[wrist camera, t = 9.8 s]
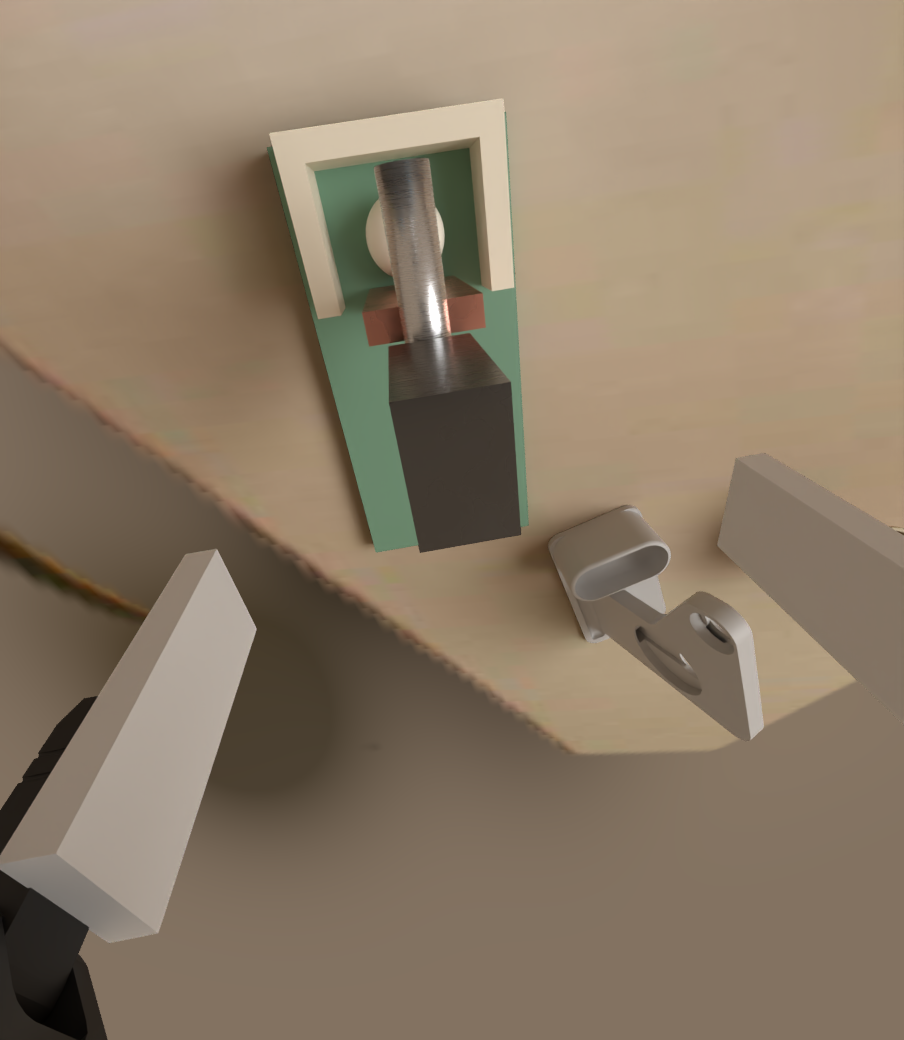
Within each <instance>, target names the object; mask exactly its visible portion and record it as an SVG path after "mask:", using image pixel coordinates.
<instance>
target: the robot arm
mask: <svg viewBox="0 0 904 1040" xmlns="http://www.w3.org/2000/svg"><path fill="white" fill-rule="evenodd" d="M717 546H718V547H719V548H720V549H721V550H722V551H723V552H724V553H725V554H726V555H727V556H728V557H729V558H730V559H731V560H732V561H733V562H734V563H735V564H737V565H738V566H739V567H740V568H741V569H742V570H743V571H744V572H745V573H746V574H747V575H748V576H749V577H750V578H751V579H752V580H753V581H754V582H755V583H756V584H757V585H758V586H759V587H760V588H761V589H763V590H764V591H765V592H766V593H767V594H768V595H769V596H770V597H771V598H772V599H773V600H774V601H775V602H776V603H777V604H778V605H779V606H780V607H781V608H782V609H783V610H784V611H785V612H786V613H787V614H788V615H790V616H791V617H792V618H793V619H794V620H795V621H796V622H797V623H798V624H799V625H800V626H801V627H802V628H803V629H804V630H805V631H806V632H807V633H808V634H809V635H810V636H811V637H812V638H813V639H814V640H816V641H817V642H818V643H819V644H820V645H821V646H822V647H823V648H824V649H825V650H826V651H827V652H828V653H829V654H830V655H831V656H832V657H833V658H834V659H835V660H836V661H837V662H838V663H839V664H840V665H841V666H843V667H844V668H845V669H846V670H847V671H848V672H849V673H850V674H851V675H852V676H853V677H854V678H855V679H856V680H857V681H858V682H859V683H860V684H861V685H863V687H864V688H866V690H867V691H869V692H870V693H871V694H872V695H873V696H874V697H875V698H876V699H877V700H878V701H879V702H880V703H881V704H882V705H883V706H884V707H885V708H886V709H887V710H888V711H889V712H890V713H892V715H893V716H895V717H896V718H897V719H898V720H899V721H900V722H901V723H902V724H903V725H904V535H902V534H901V533H899V532H897V531H895V530H894V529H892V528H890V527H889V526H887V525H885V524H884V523H882V522H880V521H879V520H877V519H875V518H874V517H872V516H870V515H869V514H867V513H865V512H864V511H862V510H860V509H859V508H857V507H855V506H853V505H852V504H850V503H848V502H847V501H845V500H843V499H842V498H840V497H838V496H837V495H835V494H833V493H832V492H830V491H828V490H827V489H825V488H823V487H822V486H820V485H818V484H816V483H815V482H813V481H811V480H810V479H808V478H806V477H805V476H803V475H801V474H800V473H798V472H796V471H795V470H793V469H791V468H790V467H788V466H786V465H785V464H783V463H781V462H780V461H778V460H776V459H774V458H773V457H771V456H769V455H768V454H766V453H762V454H756V455H750V456H745V457H739V458H736V460H735V465H734V469H733V474H732V479H731V483H730V488H729V493H728V497H727V502H726V507H725V511H724V516H723V521H722V525H721V530H720V535H719V539H718V544H717ZM255 632H256V627H255V625H254V623H253V620H252V618H251V616H250V615H249V613H248V611H247V608H246V606H245V604H244V602H243V601H242V598H241V597H240V594H239V593H238V591H237V588H236V586H235V584H234V582H233V580H232V578H231V576H230V574H229V572H228V570H227V568H226V566H225V564H224V562H223V560H222V558H221V556H220V554H219V552H218V550H217V549H213V550H208V551H202V552H196V553H190V554H185V556H184V557H183V559H182V561H181V562H180V564H179V566H178V567H177V569H176V570H175V572H174V574H173V575H172V577H171V579H170V580H169V582H168V584H167V585H166V587H165V588H164V590H163V592H162V593H161V595H160V597H159V598H158V600H157V601H156V603H155V605H154V606H153V608H152V609H151V611H150V613H149V614H148V616H147V618H146V619H145V621H144V622H143V624H142V626H141V627H140V629H139V631H138V632H137V634H136V636H135V637H134V639H133V640H132V642H131V644H130V645H129V647H128V648H127V650H126V652H125V653H124V655H123V657H122V658H121V660H120V661H119V663H118V665H117V666H116V668H115V670H114V671H113V673H112V675H111V676H110V678H109V679H108V681H107V683H106V684H105V686H104V687H103V689H102V691H101V692H100V694H99V696H95V697H90V698H84V699H83V700H82V701H81V702H80V703H79V704H78V705H77V706H76V707H75V708H74V709H73V710H72V711H71V712H70V713H69V714H68V715H66V717H64V718H63V719H62V720H61V721H60V722H59V723H58V724H57V725H56V727H55V729H54V730H53V732H52V733H51V735H50V736H49V738H48V739H47V741H46V742H45V744H44V745H43V747H42V748H41V750H40V751H39V753H38V754H39V757H38V758H36V759H34V760H33V762H32V763H31V765H30V766H29V768H28V769H27V771H26V772H25V774H24V775H23V781H22V783H18V784H17V786H16V787H15V789H14V790H13V792H12V794H11V795H10V796H9V798H8V800H7V801H6V802H5V804H4V805H3V807H2V809H1V810H0V1040H107V1036H106V1033H105V1029H104V1025H103V1022H102V1018H101V1014H100V1011H99V1007H98V1003H97V1000H96V996H95V992H94V989H93V985H92V981H91V978H90V975H89V970H88V967H87V965H86V963H85V962H84V960H83V959H82V958H81V956H80V955H78V953H79V951H80V948H81V946H82V944H83V941H84V939H85V937H86V934H87V932H88V930H90V931H92V932H93V933H95V934H96V935H98V936H99V937H101V938H102V939H104V940H105V941H107V942H108V943H112V942H117V941H122V940H127V939H132V938H137V937H142V936H147V935H152V934H157V933H158V932H159V929H160V926H161V923H162V920H163V917H164V914H165V910H166V907H167V904H168V901H169V898H170V895H171V892H172V889H173V886H174V883H175V880H176V876H177V873H178V870H179V867H180V864H181V861H182V858H183V855H184V852H185V849H186V846H187V842H188V839H189V836H190V833H191V830H192V827H193V824H194V821H195V818H196V815H197V812H198V808H199V805H200V802H201V799H202V796H203V793H204V790H205V787H206V783H207V780H208V778H209V775H210V771H211V768H212V765H213V762H214V759H215V756H216V753H217V750H218V747H219V744H220V741H221V737H222V734H223V731H224V728H225V725H226V722H227V719H228V716H229V712H230V709H231V707H232V703H233V700H234V697H235V694H236V691H237V688H238V685H239V682H240V679H241V676H242V673H243V670H244V666H245V663H246V660H247V657H248V654H249V651H250V648H251V645H252V642H253V638H254V635H255Z"/></svg>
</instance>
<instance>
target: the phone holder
mask: <svg viewBox="0 0 904 1040" xmlns="http://www.w3.org/2000/svg"><path fill="white" fill-rule="evenodd" d="M548 549H549V552H550V554H551V557H552V559H553V562H554V564H555V566H556V569H557V571H558V574H559V576H560V579H561V581H562V583H563V586H564V588H565V591H566V593H567V596H568V598H569V600H570V603H571V605H572V608H573V610H574V613H575V615H576V618H577V620H578V622H579V625H580V627H581V630H582V632H583V635H584V637H585V639H586V640H587V641H588V642H590V643H598V642H601V641H603V640H606V639H608V638H612V639H613V640H614V641H615V642H617V643H618V644H619V645H620V646H622V647H623V648H624V649H625V650H627V651H628V652H629V653H631V654H632V655H633V656H634V657H636V658H637V659H638V660H639V661H641V662H642V663H643V664H644V665H646V666H647V667H648V668H650V669H651V670H652V671H653V672H655V673H656V674H657V675H658V676H660V677H661V678H662V679H663V680H665V681H666V682H667V683H669V684H670V685H671V686H672V687H674V688H675V689H676V690H677V691H679V692H680V693H681V694H682V695H684V696H685V697H686V698H687V699H689V700H690V701H691V702H693V703H694V704H695V705H696V706H698V707H699V708H700V709H701V710H703V711H704V712H705V713H706V714H708V715H709V716H710V717H712V718H713V719H714V720H715V721H717V722H718V723H719V724H720V725H722V726H723V727H724V728H725V729H727V730H728V731H729V732H731V733H732V734H733V735H735V736H736V737H738V738H740V739H742V740H744V741H750V740H751V739H752V738H753V737H754V736H755V735H756V734H757V733H759V732H760V731H761V730H762V729H763V727H764V724H763V715H762V707H761V698H760V690H759V681H758V673H757V665H756V657H755V649H754V642H753V634H752V631H751V629H750V627H749V625H748V624H747V622H746V621H745V619H744V618H743V617H742V616H741V615H740V614H739V613H738V612H737V611H736V610H735V609H734V608H732V607H731V606H730V605H728V604H727V603H725V602H723V601H722V600H720V599H718V598H716V597H714V596H712V595H711V594H708V593H706V592H696V593H695V594H694V595H692V596H691V597H690V598H688V599H687V600H686V601H684V602H683V603H681V604H680V605H679V606H677V607H676V608H675V609H673V610H672V611H670V612H669V613H668V614H664V613H665V610H666V607H665V603H664V599H663V595H662V591H661V588H660V584H659V580H658V576H657V575H659V574H660V573H661V572H662V571H663V570H664V569H665V568H666V567H667V565H668V564H669V561H670V558H671V552H670V549H669V547H668V546H667V545H666V543H665V542H664V541H663V540H662V539H661V538H660V537H659V536H658V535H657V533H656V532H655V531H654V530H653V529H652V528H651V527H650V526H649V525H648V523H647V522H646V521H645V520H644V519H643V517H642V514H641V512H640V511H639V510H638V509H637V508H636V507H635V506H633V505H625V506H622V507H620V508H617V509H615V510H613V511H610V512H608V513H606V514H603V515H601V516H599V517H596V518H594V519H592V520H589V521H587V522H585V523H582V524H580V525H578V526H575V527H573V528H571V529H568V530H566V531H564V532H561V533H559V534H557V535H555V536H553V537H552V538H551V539H550V541H549V543H548ZM717 624H718V625H719V626H720V627H721V628H722V629H721V628H720V627H719V626H718V625H717ZM683 657H684V658H685V659H686V661H687V662H688V663H689V664H688V663H687V662H686V661H685V659H684V658H683Z"/></svg>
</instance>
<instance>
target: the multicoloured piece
mask: <svg viewBox="0 0 904 1040" xmlns="http://www.w3.org/2000/svg"><path fill="white" fill-rule="evenodd" d="M374 173H375V179H376V184H377V190H378V195H379V201H380V207H381V212H382V218H383V224H384V229H385V235H386V240H387V246H388V252H389V257H390V263H391V269H392V274H393V280H394V285H391V286H385V287H378V288H372V289H370V290H369V293H368V296H367V299H366V302H365V305H364V308H363V311H362V316H363V320H364V325H365V330H366V334H367V339H368V343H369V347H370V346H376V345H382V344H388V343H395V342H401V341H404V342H405V344H398V345H392V346H388V369H389V406H390V411H391V416H392V421H393V426H394V430H395V435H396V440H397V445H398V450H399V454H400V459H401V464H402V469H403V474H404V478H405V483H406V488H407V493H408V498H409V502H410V507H411V512H412V517H413V522H414V526H415V531H416V536H417V541H418V546H419V550H420V553H421V552H427V551H433V550H438V549H444V548H450V547H455V546H461V545H467V544H472V543H478V542H483V541H489V540H495V539H500V538H506V537H512V536H517V535H521V525H520V510H519V495H518V480H517V465H516V450H515V434H514V419H513V404H512V389H511V381H510V380H509V379H508V378H507V377H506V375H505V374H504V373H503V372H502V371H501V369H500V368H499V367H498V366H497V365H496V363H495V362H494V361H493V360H492V359H491V357H490V356H489V355H488V354H487V353H486V352H485V350H484V349H483V348H482V347H481V346H480V344H479V343H478V342H477V341H476V340H475V338H474V337H473V336H472V335H471V334H470V333H466V334H460V335H453V336H451V333H456V332H462V331H468V330H474V329H480V328H486V324H485V313H484V301H483V293H482V292H480V291H478V290H477V289H475V288H473V287H472V286H470V285H469V284H467V283H465V282H464V281H462V280H460V279H459V278H457V277H455V276H454V275H453V276H447V277H444V273H443V265H442V257H441V249H440V241H439V234H438V226H437V218H436V210H435V202H434V194H433V186H432V178H431V170H430V162H429V159H428V158H413V159H405V160H398V161H393V162H388V163H384V164H380V165H377V166H375V167H374Z"/></svg>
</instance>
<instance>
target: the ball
mask: <svg viewBox="0 0 904 1040" xmlns="http://www.w3.org/2000/svg"><path fill="white" fill-rule="evenodd" d="M435 210H436V218H437V226H438V234H439V241H440V249H441V254H442V251H443V247H444V236H445V235H444V226H443V222H442V219H441V216H440V214H439V212H438V210H437V209H436V207H435ZM366 241H367V246H368V249H369V252H370V254H371V256H372V258H373V260H374V261H375V263H376V264H377V265H378V266H379V267H380V269H382V270H383V271H384V272H385V273H387V274H388V275H390V276H392V277H393V274H392V269H391V263H390V257H389V252H388V246H387V240H386V235H385V229H384V224H383V218H382V212H381V207H380V201H379V199H378V200H377V201H376V202H375V204H374V205H373V206H372V208H371V210H370V212H369V215H368V218H367V223H366Z"/></svg>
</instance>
